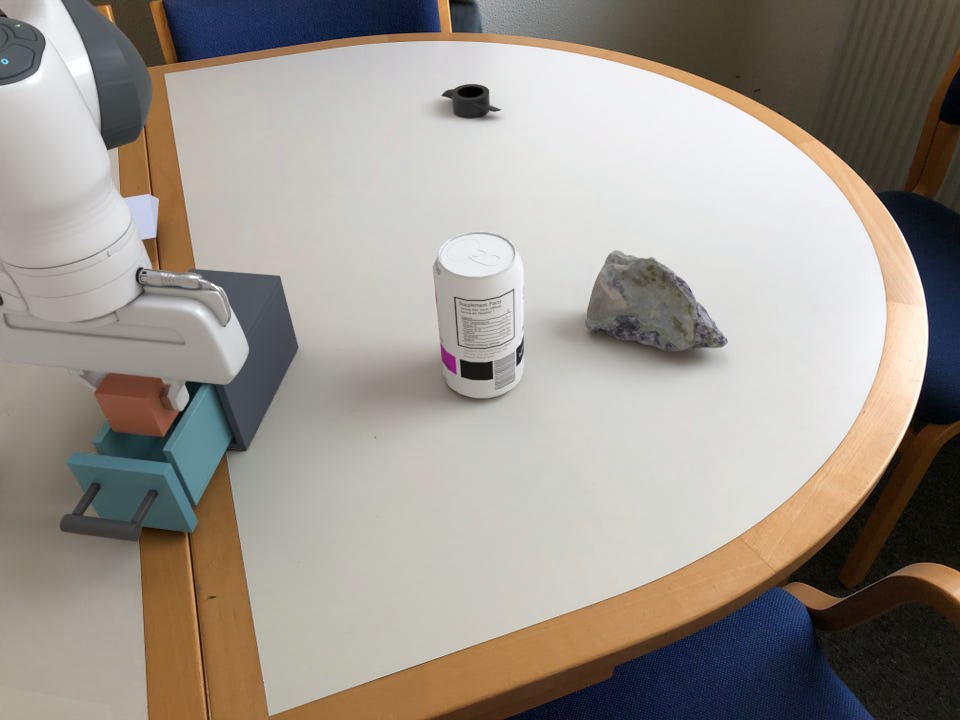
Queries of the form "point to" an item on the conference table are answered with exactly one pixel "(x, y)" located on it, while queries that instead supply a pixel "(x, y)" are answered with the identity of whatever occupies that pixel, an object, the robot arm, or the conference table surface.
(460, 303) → the supplement can
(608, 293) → the mineral rock
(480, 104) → the black finned ring
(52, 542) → the conference table surface
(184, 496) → the drawer
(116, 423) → the block
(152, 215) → the lavender piece
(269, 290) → the grey drawer cabinet
